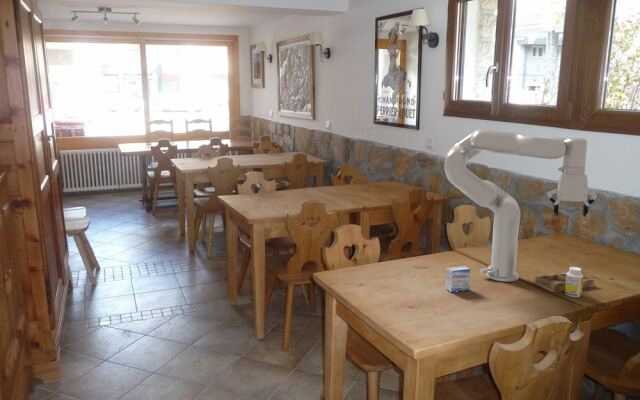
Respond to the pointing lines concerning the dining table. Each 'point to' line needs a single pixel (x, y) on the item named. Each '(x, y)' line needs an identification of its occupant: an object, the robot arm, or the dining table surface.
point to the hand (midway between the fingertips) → (570, 215)
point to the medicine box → (457, 278)
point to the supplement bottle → (574, 282)
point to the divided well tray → (559, 282)
